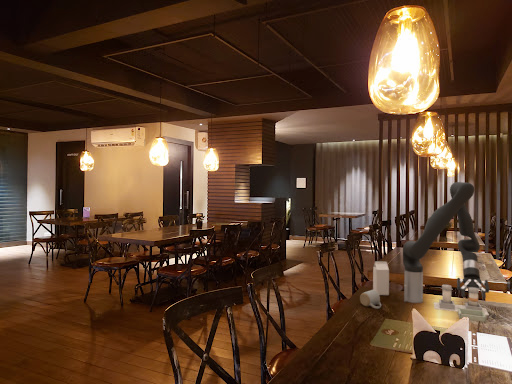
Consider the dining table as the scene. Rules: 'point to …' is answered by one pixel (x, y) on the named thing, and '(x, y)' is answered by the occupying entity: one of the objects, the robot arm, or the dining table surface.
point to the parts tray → (473, 312)
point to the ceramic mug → (370, 299)
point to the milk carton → (381, 278)
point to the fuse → (447, 293)
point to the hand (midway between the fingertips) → (473, 297)
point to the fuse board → (457, 306)
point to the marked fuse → (473, 296)
